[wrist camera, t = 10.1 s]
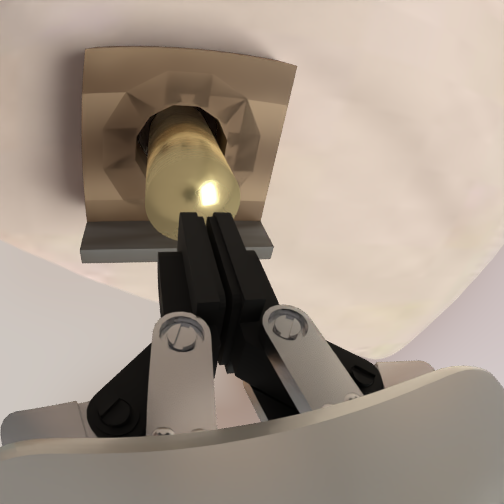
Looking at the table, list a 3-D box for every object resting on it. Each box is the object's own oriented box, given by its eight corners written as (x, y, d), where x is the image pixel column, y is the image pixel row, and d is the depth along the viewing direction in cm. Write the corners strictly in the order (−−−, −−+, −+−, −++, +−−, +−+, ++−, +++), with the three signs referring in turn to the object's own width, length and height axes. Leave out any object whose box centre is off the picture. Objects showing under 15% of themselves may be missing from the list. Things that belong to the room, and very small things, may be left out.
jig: (97, 47, 15) (70, 52, 10) (277, 60, 19) (320, 73, 14) (95, 207, 22) (82, 263, 17) (245, 207, 26) (270, 258, 21)
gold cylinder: (151, 103, 18) (146, 156, 11) (210, 106, 20) (248, 160, 12) (147, 157, 21) (145, 242, 13) (203, 159, 22) (232, 241, 15)
